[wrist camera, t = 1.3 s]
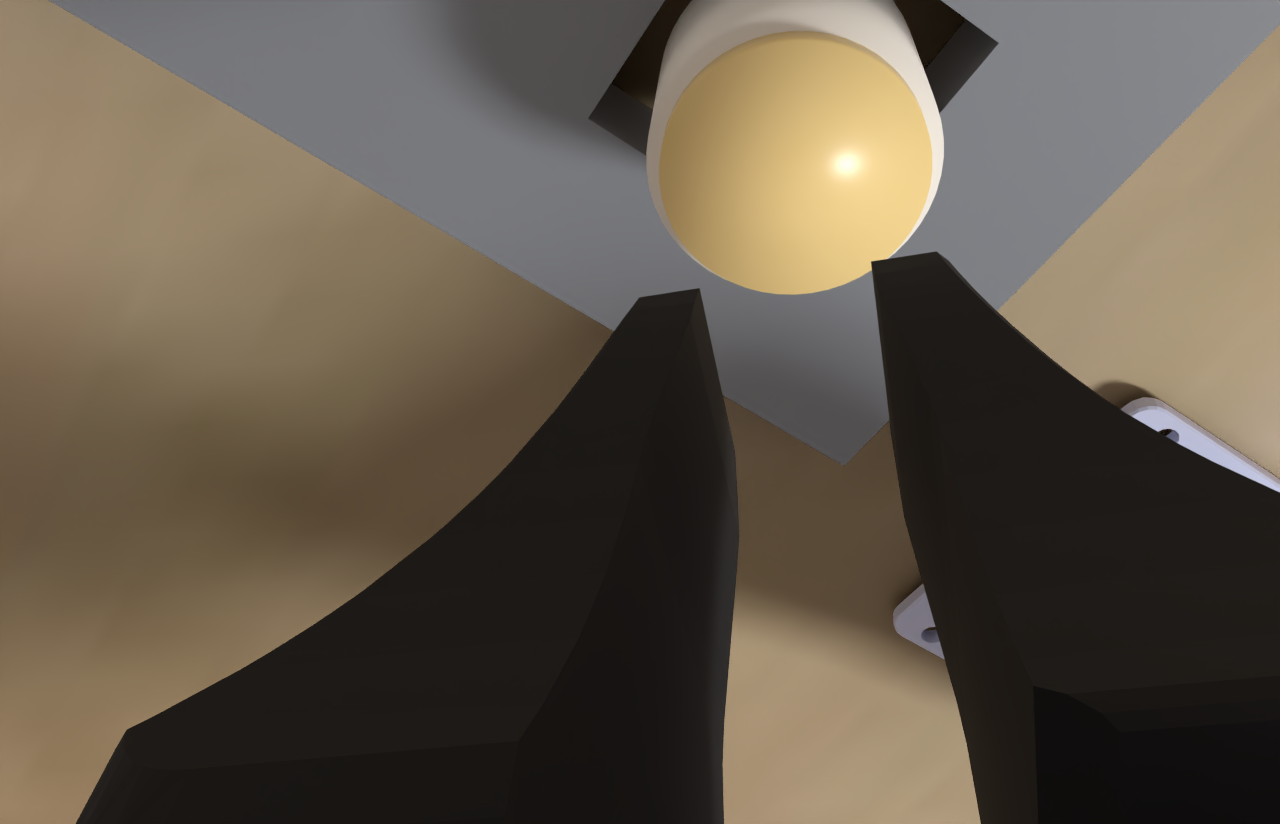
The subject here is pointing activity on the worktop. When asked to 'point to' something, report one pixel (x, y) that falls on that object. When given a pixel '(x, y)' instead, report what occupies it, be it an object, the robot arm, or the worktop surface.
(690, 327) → the robot arm
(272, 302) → the worktop surface
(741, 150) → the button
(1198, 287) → the worktop surface
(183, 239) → the worktop surface
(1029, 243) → the button board
